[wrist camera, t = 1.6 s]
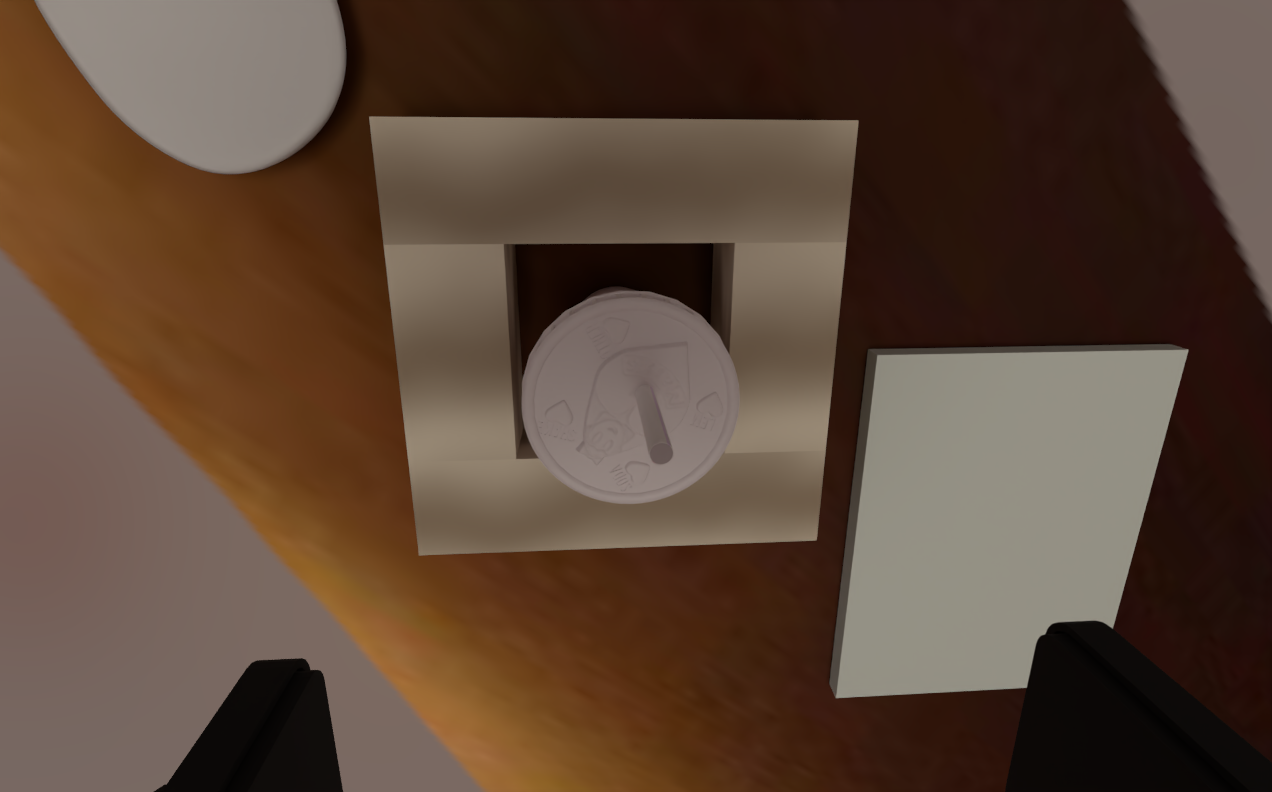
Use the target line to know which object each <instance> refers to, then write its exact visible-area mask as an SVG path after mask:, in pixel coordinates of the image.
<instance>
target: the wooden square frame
mask: <svg viewBox="0 0 1272 792" xmlns="http://www.w3.org/2000/svg"><path fill="white" fill-rule="evenodd" d="M369 121H370V130H371V139H372V148H373V156H374V165H375V174H376V183H377V191H378V200H379V209H380V218H381V226H382V235H383V244H384V253H385V261H386V270H387V279H388V288H389V296H390V305H391V314H392V323H393V331H394V340H395V349H396V358H397V366H398V375H399V384H400V393H401V401H402V410H403V419H404V428H405V436H406V445H407V454H408V462H409V471H410V480H411V489H412V497H413V506H414V515H415V524H416V532H417V541H418V550H419V555H439V554H466V553H493V552H520V551H546V550H573V549H600V548H626V547H653V546H680V545H707V544H733V543H760V542H787V541H814V540H817V532H818V522H819V512H820V502H821V492H822V482H823V472H824V462H825V452H826V442H827V432H828V422H829V412H830V402H831V392H832V382H833V372H834V362H835V352H836V342H837V332H838V322H839V312H840V302H841V292H842V282H843V272H844V262H845V252H846V242H847V232H848V222H849V212H850V202H851V192H852V182H853V172H854V162H855V152H856V142H857V132H858V122H859V121H858V120H732V119H606V118H481V117H369ZM614 243H714V244H713V270H712V296H711V322H710V326H711V327H712V328H713V329H714V330H715V331H716V332H717V333H718V335H719V336H720V338H721V340H722V342H723V344H724V346H725V348H726V350H727V351H728V353H729V355H730V357H731V359H732V362H733V364H734V367H735V370H736V374H737V378H738V383H739V393H740V405H739V413H738V419H737V423H736V427H735V430H734V433H733V435H732V438H731V440H730V442H729V444H728V446H727V448H726V449H725V451H724V453H723V454H722V456H721V457H720V459H719V460H718V461H717V462H716V464H715V465H714V466H713V467H712V468H711V469H710V470H709V471H708V472H707V473H706V474H705V475H704V476H703V477H701V478H700V479H699V480H698V481H697V482H695V483H694V484H692V485H691V486H689V487H688V488H686V489H684V490H682V491H680V492H678V493H676V494H674V495H671V496H669V497H666V498H663V499H660V500H656V501H652V502H646V503H638V504H618V503H610V502H605V501H600V500H597V499H593V498H590V497H588V496H585V495H583V494H580V493H578V492H577V491H575V490H573V489H571V488H569V487H568V486H566V485H565V484H563V483H562V482H561V481H560V480H558V479H557V478H556V477H555V476H554V475H553V474H552V473H550V472H549V471H548V469H547V468H546V467H545V466H544V465H543V464H542V462H541V461H540V459H539V458H538V457H537V455H536V453H535V452H534V450H533V448H532V446H531V444H530V441H529V439H528V437H527V434H526V430H525V427H524V422H523V417H522V361H521V342H520V324H519V305H518V286H517V267H516V249H515V244H614Z"/></svg>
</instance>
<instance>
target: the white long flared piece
mask: <svg viewBox="0 0 1272 792" xmlns="http://www.w3.org/2000/svg"><path fill="white" fill-rule="evenodd" d="M34 1H35V3H36V5H37V7H38V8H39V10H40V12H41V14H42V15H43V17H44V19H45V20H46V22H47V24H48V25H49V27H50V29H51V30H52V32H53V33H54V35H55V36H56V38H57V39H58V41H59V42H60V44H61V45H62V47H63V48H64V50H65V51H66V53H67V54H68V56H69V57H70V58H71V60H72V61H73V63H74V64H75V65H76V67H77V68H78V69H79V71H80V72H81V74H82V75H83V76H84V78H85V79H86V80H87V82H88V83H89V84H90V86H91V87H92V88H93V89H94V90H95V92H96V93H97V94H98V95H99V97H100V98H101V99H102V100H103V101H104V103H105V104H106V105H107V106H108V107H109V108H110V109H111V110H112V112H113V113H114V114H116V115H117V116H118V117H119V118H120V119H121V120H122V121H123V122H124V123H125V124H126V125H127V126H128V127H129V128H130V129H132V130H133V131H134V132H135V133H136V134H138V135H139V136H140V137H142V138H143V139H144V140H146V141H147V142H148V143H150V144H151V145H153V146H154V147H156V148H157V149H159V150H160V151H162V152H163V153H165V154H167V155H169V156H171V157H172V158H174V159H176V160H178V161H180V162H182V163H184V164H187V165H189V166H191V167H194V168H197V169H200V170H203V171H207V172H212V173H219V174H242V173H250V172H254V171H258V170H262V169H265V168H267V167H270V166H272V165H275V164H277V163H279V162H281V161H283V160H285V159H287V158H288V157H290V156H292V155H293V154H295V153H296V152H297V151H299V150H300V149H302V148H303V147H304V146H305V145H306V144H307V143H309V142H310V141H311V140H312V139H313V138H314V137H315V136H316V135H317V134H318V132H319V131H320V130H321V129H322V128H323V126H324V125H325V124H326V122H327V121H328V120H329V118H330V116H331V114H332V112H333V111H334V109H335V106H336V104H337V101H338V99H339V96H340V93H341V89H342V86H343V82H344V77H345V70H346V40H345V34H344V27H343V23H342V18H341V14H340V10H339V6H338V3H337V0H34Z"/></svg>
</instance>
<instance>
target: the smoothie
mask: <svg viewBox="0 0 1272 792" xmlns="http://www.w3.org/2000/svg"><path fill="white" fill-rule="evenodd" d="M739 405H740V393H739V383H738V378H737V374H736V370H735V367H734V364H733V362H732V359H731V357H730V355H729V353H728V351H727V350H726V348H725V346H724V344H723V342H722V340H721V338H720V336H719V335H718V333H717V332H716V331H715V330H714V329H713V328H712V327H711V326H710V325H709V323H708V322H707V321H706V320H705V319H704V318H703V317H702V316H701V315H700V314H698V313H697V312H695V311H694V310H692V309H691V308H689V307H687V306H686V305H684V304H683V303H681V302H679V301H678V300H676V299H672V298H669V297H666V296H663V295H659V294H656V293H653V292H649V291H635V290H633V289H630V288H626V287H620V286H613V287H606V288H603V289H600V290H598V291H595V292H594V293H592V294H591V295H589V296H588V297H587V298H586V299H585V300H584V301H583V302H581V303H579V304H577V305H575V306H574V307H572V308H570V309H568V310H566V311H565V312H563V313H562V314H561V315H560V316H559V317H558V318H557V319H556V320H555V321H554V322H553V323H552V324H551V325H550V326H549V327H548V328H547V329H545V330H544V332H543V333H542V335H541V337H540V338H539V340H538V342H537V343H536V345H535V346H534V348H533V350H532V351H531V353H530V355H529V358H528V362H527V365H526V369H525V372H524V376H523V380H522V417H523V422H524V427H525V430H526V434H527V437H528V439H529V441H530V444H531V446H532V448H533V450H534V452H535V453H536V455H537V457H538V458H539V459H540V461H541V462H542V464H543V465H544V466H545V467H546V468H547V469H548V471H549V472H550V473H552V474H553V475H554V476H555V477H556V478H557V479H558V480H560V481H561V482H562V483H563V484H565V485H566V486H568V487H569V488H571V489H573V490H575V491H577V492H578V493H580V494H583V495H585V496H588V497H590V498H593V499H597V500H600V501H605V502H610V503H618V504H638V503H646V502H652V501H656V500H660V499H663V498H666V497H669V496H671V495H674V494H676V493H678V492H680V491H682V490H684V489H686V488H688V487H689V486H691V485H692V484H694V483H695V482H697V481H698V480H699V479H700V478H701V477H703V476H704V475H705V474H706V473H707V472H708V471H709V470H710V469H711V468H712V467H713V466H714V465H715V464H716V462H717V461H718V460H719V459H720V457H721V456H722V454H723V453H724V451H725V449H726V448H727V446H728V444H729V442H730V440H731V438H732V435H733V433H734V430H735V427H736V423H737V419H738V413H739Z"/></svg>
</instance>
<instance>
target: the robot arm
mask: <svg viewBox="0 0 1272 792" xmlns="http://www.w3.org/2000/svg"><path fill="white" fill-rule="evenodd" d="M154 792H343V790H342V783H341V777H340V771H339V765H338V759H337V753H336V747H335V741H334V735H333V729H332V723H331V717H330V711H329V704H328V699H327V692H326V687H325V680H324V676H323V674H322V672H321V671H319V670H310V667H309V664H308V663H307V661H306V660H305V659H302V658H301V659H280V660H259V661H255V662H253V663H251V664H250V666H249V667H248V668H247V669H246V670H245V672H244V673H243V675H242V676H241V678H240V679H239V680H238V682H237V683H236V685H235V686H234V688H233V689H232V691H231V692H230V694H229V695H228V697H227V698H226V699H225V701H224V702H223V704H222V705H221V707H220V708H219V709H218V711H217V712H216V714H215V715H214V717H213V718H212V720H211V721H210V723H209V724H208V726H207V727H206V728H205V730H204V731H203V733H202V734H201V736H200V737H199V739H198V740H197V741H196V743H195V744H194V746H193V747H192V749H191V750H190V752H189V753H188V754H187V756H186V757H185V759H184V760H183V762H182V763H181V765H180V766H179V767H178V769H177V770H176V772H175V773H174V775H173V776H172V778H171V779H170V780H169V782H168V783H167V785H163V786H162V787H160V788H159V789H157V790H156V791H154ZM1005 792H1272V763H1271V762H1270V761H1269V760H1268V759H1267V758H1265V757H1264V756H1263V755H1262V754H1261V753H1259V752H1258V751H1257V750H1256V749H1255V748H1254V747H1252V746H1251V745H1250V744H1249V743H1248V742H1246V741H1245V740H1244V739H1243V738H1242V737H1240V736H1239V735H1238V734H1237V733H1236V732H1235V731H1233V730H1232V729H1231V728H1230V727H1229V726H1227V725H1226V724H1225V723H1224V722H1223V721H1221V720H1220V719H1219V718H1218V717H1217V716H1216V715H1214V714H1213V713H1212V712H1211V711H1210V710H1208V709H1207V708H1206V707H1205V706H1204V705H1202V704H1201V703H1200V702H1199V701H1198V700H1197V699H1195V698H1194V697H1193V696H1192V695H1191V694H1189V693H1188V692H1187V691H1186V690H1185V689H1184V688H1182V687H1181V686H1180V685H1179V684H1178V683H1176V682H1175V681H1174V680H1173V679H1172V678H1170V677H1169V676H1168V675H1167V674H1166V673H1165V672H1163V671H1162V670H1161V669H1160V668H1159V667H1157V666H1156V665H1155V664H1154V663H1153V662H1151V661H1150V660H1149V659H1148V658H1147V657H1146V656H1144V655H1143V654H1142V653H1141V652H1140V651H1138V650H1137V649H1136V648H1135V647H1134V646H1132V645H1131V644H1130V643H1129V642H1128V641H1127V640H1125V639H1124V638H1123V637H1122V636H1121V635H1119V634H1118V633H1117V632H1116V631H1115V630H1113V629H1112V628H1111V627H1110V626H1108V625H1107V624H1105V623H1103V622H1100V621H1096V620H1094V621H1073V622H1057V623H1053V624H1051V625H1050V626H1049V628H1048V629H1047V631H1046V634H1045V635H1041V636H1040V637H1039V638H1038V640H1037V643H1036V647H1035V651H1034V656H1033V661H1032V665H1031V670H1030V675H1029V680H1028V684H1027V689H1026V694H1025V698H1024V703H1023V708H1022V713H1021V717H1020V722H1019V727H1018V731H1017V736H1016V741H1015V746H1014V750H1013V755H1012V760H1011V764H1010V769H1009V774H1008V779H1007V783H1006V791H1005Z"/></svg>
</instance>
